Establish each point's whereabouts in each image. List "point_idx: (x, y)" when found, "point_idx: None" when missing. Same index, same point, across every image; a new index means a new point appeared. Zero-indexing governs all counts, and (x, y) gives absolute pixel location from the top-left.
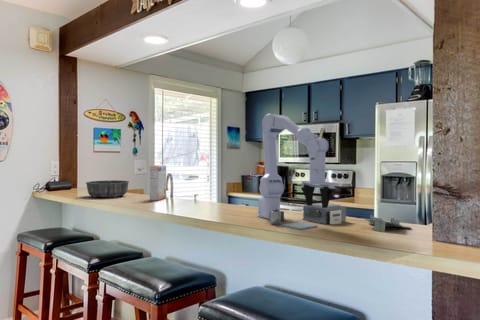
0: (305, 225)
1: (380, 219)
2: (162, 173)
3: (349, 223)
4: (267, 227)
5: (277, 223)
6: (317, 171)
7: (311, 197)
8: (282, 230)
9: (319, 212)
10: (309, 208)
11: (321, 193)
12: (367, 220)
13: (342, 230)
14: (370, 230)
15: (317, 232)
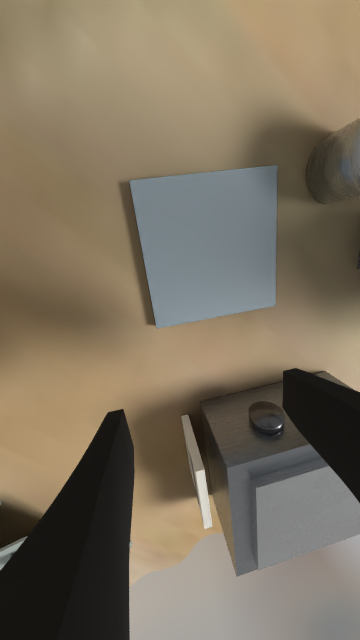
0: (185, 272)
1: None
2: None
3: (172, 488)
4: (285, 24)
5: (314, 157)
6: None
7: (341, 462)
8: (156, 48)
9: (258, 428)
10: None
11: (53, 595)
12: None
13: (39, 389)
14: (4, 489)
15: (21, 234)
